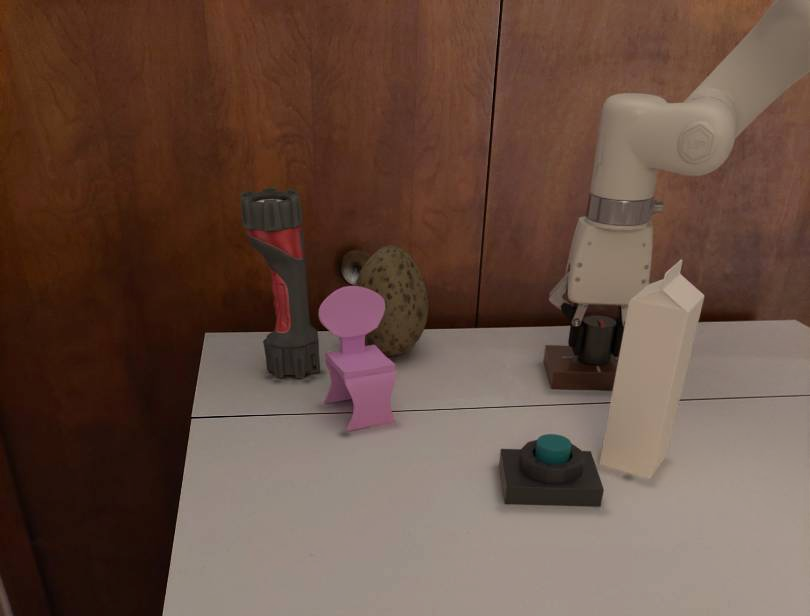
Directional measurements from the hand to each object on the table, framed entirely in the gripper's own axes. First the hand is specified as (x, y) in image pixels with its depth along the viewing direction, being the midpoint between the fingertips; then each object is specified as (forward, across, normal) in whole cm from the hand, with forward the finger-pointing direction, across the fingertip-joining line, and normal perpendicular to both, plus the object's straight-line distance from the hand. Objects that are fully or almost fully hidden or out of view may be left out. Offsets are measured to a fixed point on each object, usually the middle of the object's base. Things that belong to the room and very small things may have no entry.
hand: (594, 350), depth 108 cm
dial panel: (+4, 0, 0) cm, 4 cm away
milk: (+4, -1, +23) cm, 23 cm away
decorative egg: (+4, +28, -6) cm, 29 cm away
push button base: (+4, +9, +29) cm, 31 cm away
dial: (+1, 0, 0) cm, 1 cm away
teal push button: (0, +9, +29) cm, 31 cm away
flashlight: (+4, +42, +1) cm, 42 cm away
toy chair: (+4, +31, +13) cm, 34 cm away
